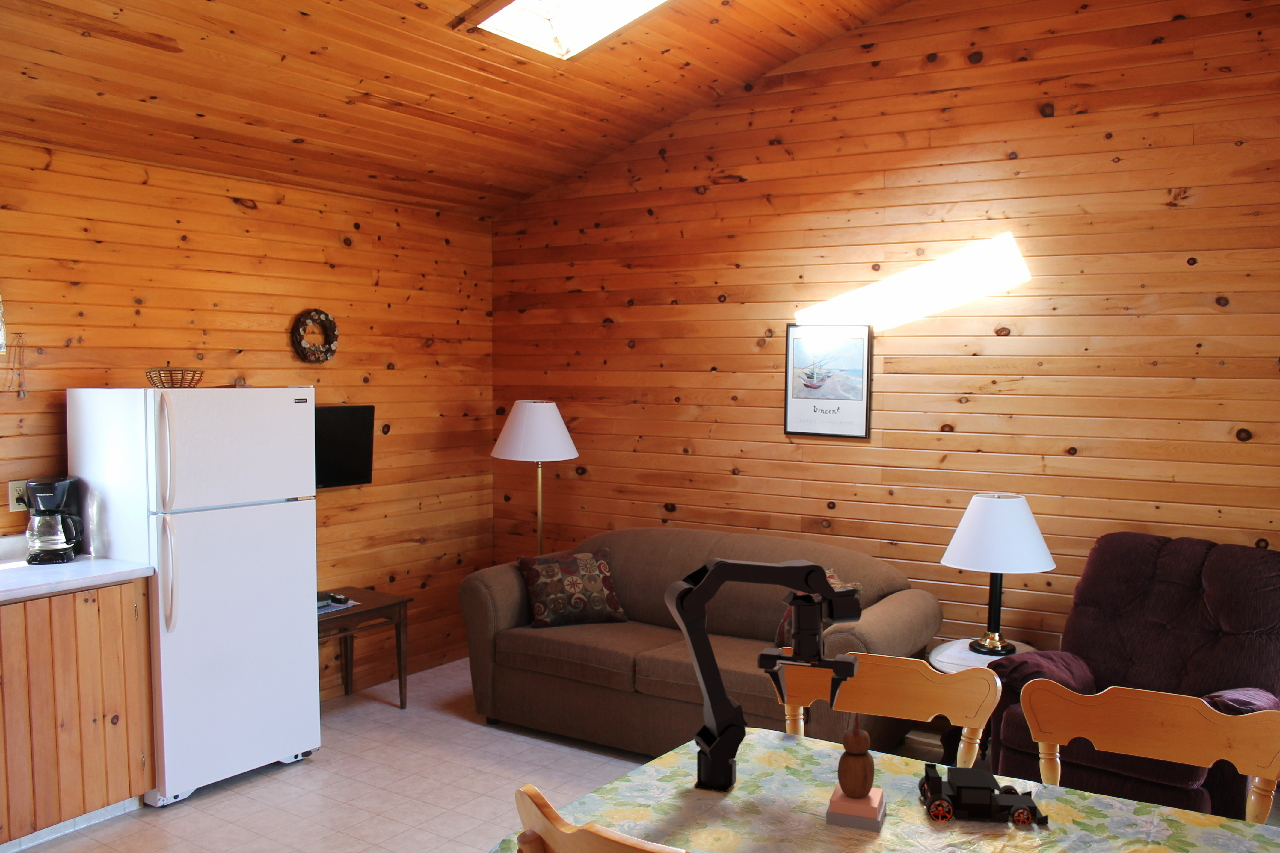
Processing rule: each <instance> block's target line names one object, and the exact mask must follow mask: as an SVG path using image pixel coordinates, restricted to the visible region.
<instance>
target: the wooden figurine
mask: <svg viewBox="0 0 1280 853" xmlns="http://www.w3.org/2000/svg"><path fill="white" fill-rule="evenodd" d="M858 714H859V713H858V712H855V716H854V717H855V718H854V723H853V724H854V725H853V728H848V729H847V730H845V732H844V733H843V737H842V746H843V748H844V752H843V753H841V756H840V758H839V761H838V766H837V778H838V782H839V784H840V787H841V789H842V791H843V793H845V794H846V795H847V796H849V797H852V798H863V797H865V796H867V795H868V794H869V793H870V791H871V788H872V787H873V784H874V779H875V778H874V777H875V762H874V757H873V756H872V754H871V753H870V751H869V750H870V747H871V739H870V735H869V733H868V732H867V731H866V730H864V729H860V728H859V715H858Z"/></svg>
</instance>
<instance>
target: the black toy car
mask: <svg viewBox="0 0 1280 853" xmlns="http://www.w3.org/2000/svg"><path fill="white" fill-rule="evenodd" d="M946 772H947V773H946V774H947V776H946V777H947V779H946V780H943V777H942V776H940V774H939V772H938V769H937V763H924V776H922V777H921V778H920V779H919V781H918V785H917V786H918V791H919V793H920V796H921V797H920V799H921V801H922V802H923V805H924V810H925V811H926V812H927V813H928V816H929V819H931V820H932V821H933V822H934V821H935V822H950V821H951V820H952V819H953V817H954V820H958V821H975V822H977V821H978V822H997V823H998V822H999V823H1009V816H1010V817H1011V819H1012V821H1013V822H1014V824H1016V825H1024V826H1025V825H1027V826H1028V825H1030V824H1031V823H1032V821H1033V819H1034V822H1035V823H1036V824H1037V825H1049V815H1048V814H1046V815H1044V814H1042V812H1041V811H1040V809H1039V807H1038V806H1037V805H1036V802H1035V801H1034V800H1033V798H1032V797H1033V795H1032V794H1033V791H1032V790H1029V791H1028V790H1027V791H1026V792H1024V791H1023V792H1021V794H1019V792H1018V790H1017V789H1016V787H1014V786H1013V785H1010V784H1005V785H1003V786H1001V785H1000V784H999V782H998V781H997V779H996V777H995V776H994V774H993V773H991V772H989V771H987V770H985V769H984V768H980V767H979V768H978V767H960V766H959V767H957V766H956V767H954V766H947V770H946ZM996 791H997V792H998V793H995V792H996Z"/></svg>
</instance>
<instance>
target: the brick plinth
mask: <svg viewBox="0 0 1280 853" xmlns="http://www.w3.org/2000/svg"><path fill="white" fill-rule="evenodd" d="M832 791H833V792H832V794H831V796H830V798H829V804H828V807H827V809H826V812H825V824H826V825H830V826H831V825H832V826H838V827H844V828H851V829H856V830H861V831H862V830H863V831H867V832H869V831H870V832H873V833H874V832H875V833H881V828H882V826H883V824H884V823H883V822H884V820H885V816H886V812H887V799H885V798H884V788H880V787H874V786H872V788H871V791H870V793H869V794H868V795H867V796H865V797H863V798H852V797H849V796H847V795H846V794H845V793H843V791H842V789H841V787H840V784H839V781H838V782H836V784H835V787H834V789H833V790H832Z"/></svg>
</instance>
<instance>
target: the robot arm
mask: <svg viewBox="0 0 1280 853" xmlns="http://www.w3.org/2000/svg"><path fill="white" fill-rule="evenodd" d="M827 577H828V576H827V573H826V570H825V569H824V568H823V567H822V565H819V564H816V563H814V562H811V561H808V560H807V559H792V560H786V561H785V560H784V561H782V562H776V563H771V562H770V563H769V562H761V561H760V562H759V561H747V560H738V559H737V560H736V559H735V560H734V559H724V558H723V559H722V558H719V557H711V558H709V559H708V560H707V561H706V562H705V563H703V564H702V565H701V566H699V567H698V568H696V569H694V570H693V571H691V572H689V573H687V574H685V575H684V576H683V577H682V578H681V579H680V580H678V581H674V582H672V583H670V585H668V587H667V589H666V590H665V592H664V596H663V598H664V602H665V604H666V606H667V608H668V610H669V612H670V614H671V615H672V617H673V619H674V621H675V622H676V624H677V625H678V626H679V628H680V631H682V634H683V637H684V639H685V643H686V646H687V649H688V652H689V656H690V659H691V662H692V665H693V668H694V671H695V674H696V678H697V680H698V684H699V687H700V690H701V693H702V697H703V708H702V709H703V711H702V712H703V719H704V723H703V724H702V725H701V726H700V727H699V729H697V731H696V732H695V733H694V734H693V741H694V743H695V745H696V746H697V747H699V750H698V751H697V753H696V754H697V755H696V756H697V757H696V758H697V760H696V762H697V763H696V764H697V765H696V767H697V769H696V771H697V772H696V773H697V774H696V776H697V781H696V782H695V783H694V784H693V785H694V788H695V789H701V790H708V791H714V792H720V793H728V792H729V791H730V789H731V788H732V787H733V786H734V784H736V782H737V760H736V757H737V754H738V751H739V748H740V745H741V743H743V741H744V739H745V738H746V735H747V731H746V727H747V726H748V725H749V723H747V722H746V720H745V718H744V712H743V707H742V705H741V704H740V703H739V702H737V701H736V700H735V699H734V698H733V697H731V696H730V695H728V694H727V691H726V688H725V684H724V682H723V679H722V676H721V675H722V674H721V672H720V669H719V667H718V664H717V660H716V657H715V653H714V650H713V647H712V644H711V640H710V637H709V635H708V632H707V617H708V614H707V612H708V611H707V607H706V605H707V603H709V602H710V601H711V600H712V599H713V598H714V597H715V596H716V594H717V592H718V591H719V590H720V588H721V587H722V585H724V584H725V583H726V582H732V583H733V582H735V583H736V582H737V583H749V584H758V585H759V584H760V585H761V584H763V585H772V586H773V585H776V586H777V585H778V586H782V587H784V588H789V589H792V590H793V591H792V590H790V591H789V592H788V594H786V595H785V596H784V597H783V598H782V599H781V602H782V603H783V604H786V605H787V606H789V607H792V610H791V612H792V615H791V616H792V620H791V621H792V633H791V641H790V645H791V646H792V654H784V649H783V648H774V647H765V648H764V649H763V650H762V651H761V652H760V653H759V654H758V655H757V659H756V664H757V665H756V666H757V668H758V669H762V670H763V673H765V674H768V675H769V677H770V679H771V681H772V682H773V684H774V685H775V688H776V690H777V693H778V695H779V697H780V700H781V702H782V704H783V705H785V704H786V703H787V686H786V685H787V684H786V675H785V674H786V673H785V672H786V666H794V667H795V666H796V667H803V668H805V667H806V668H817V669H824V670H825V669H827V670H832V673H833V674H832V676H831V678H830V680H831V681H830V691H829V692H830V693H829V709H830V710H833V708H834V706H835V704H836V700H837V697H838V694H839V690H840V688H841V686H842V683H843V682H848V681H849V679H850V678H855V677H856V675H857V673H858V671H859V667H860V666H859V658H858V657H857V656H856V655H851V654H842V653H841V654H840V653H838V654H837V655H836V656H835V657H834V658H824V657H826V655H827V653H828V639H829V638H827V637H826V636H824V630H823V620H825V622H826V623H827V624H829V625H837V624H847V623H850V624H851V623H857V622H859V621H860V619H861V618H862V613H863V612H862V609H863V608H862V606H861V602H860V600H859V598H858V596H857V594H856V592H857V591H856V590H857V589H856V588H853V587H852V586H845V587H842V588H833V586H832V585H831V583H830V582H829V580H828V579H827ZM794 590H795V591H799V592H802V594H801V593H800V594H797V593H796V592H795V591H794ZM803 593H804V594H803ZM813 595H818V596H817V597H814V596H813Z"/></svg>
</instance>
